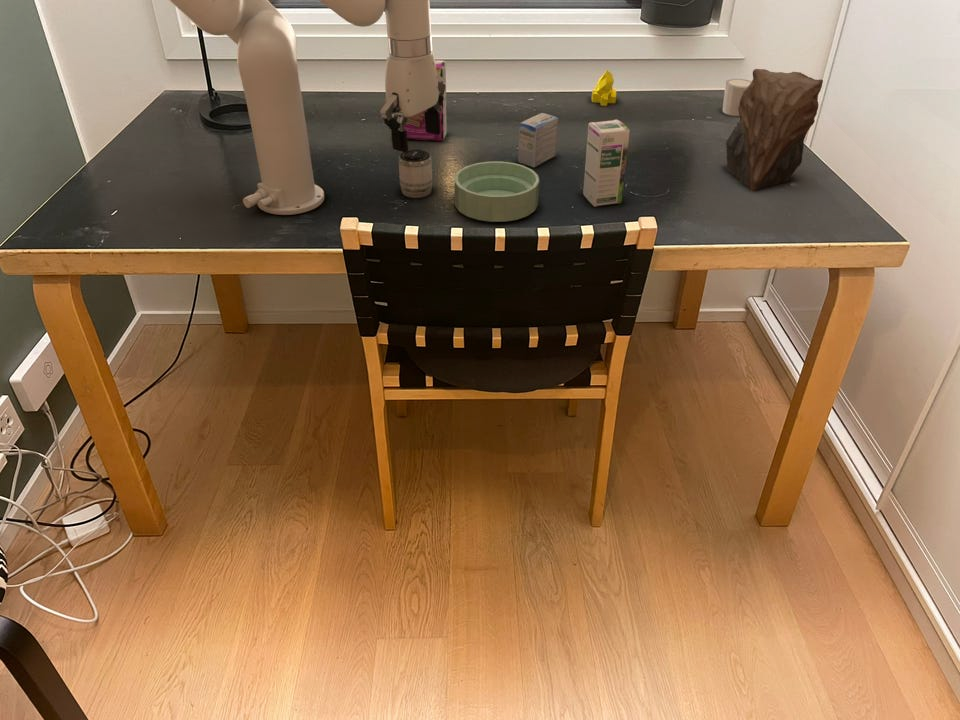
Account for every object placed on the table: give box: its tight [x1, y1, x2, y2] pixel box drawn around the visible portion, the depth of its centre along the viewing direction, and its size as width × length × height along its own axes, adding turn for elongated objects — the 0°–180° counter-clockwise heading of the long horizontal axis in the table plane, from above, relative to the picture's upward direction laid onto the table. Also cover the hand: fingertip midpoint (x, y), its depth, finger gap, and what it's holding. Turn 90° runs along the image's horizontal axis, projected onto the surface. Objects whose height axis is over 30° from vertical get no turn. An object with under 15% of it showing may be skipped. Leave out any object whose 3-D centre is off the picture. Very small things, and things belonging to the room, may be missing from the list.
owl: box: [725, 68, 824, 192], centre depth 147 cm, size 13×13×20 cm
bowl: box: [453, 160, 540, 223], centre depth 140 cm, size 16×16×6 cm
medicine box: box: [517, 112, 559, 168], centre depth 156 cm, size 8×4×9 cm, turn 141°
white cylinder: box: [722, 78, 752, 117], centre depth 180 cm, size 7×7×7 cm
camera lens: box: [397, 148, 433, 199], centre depth 144 cm, size 6×6×8 cm
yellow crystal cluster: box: [591, 69, 617, 107], centre depth 186 cm, size 6×8×8 cm
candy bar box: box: [397, 59, 448, 142], centre depth 164 cm, size 11×5×16 cm, turn 84°
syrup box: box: [582, 119, 631, 208], centre depth 139 cm, size 6×6×14 cm
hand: (417, 141), depth 140 cm, fingers open, 9 cm apart
